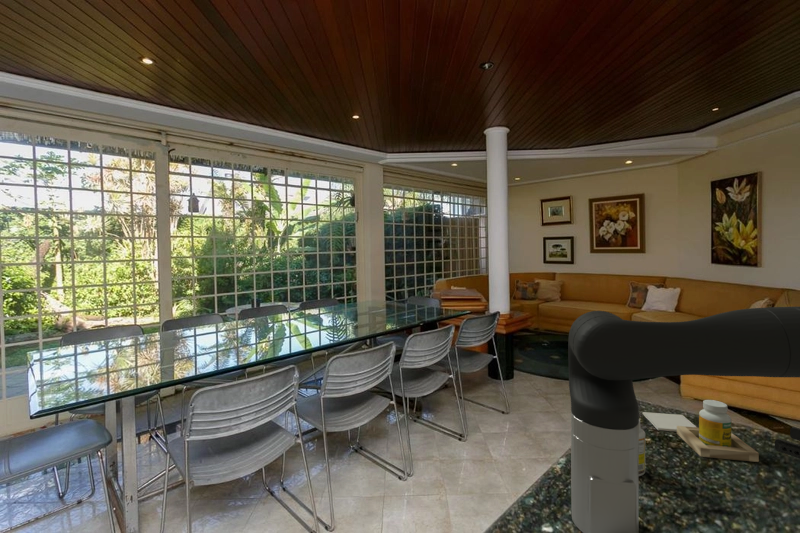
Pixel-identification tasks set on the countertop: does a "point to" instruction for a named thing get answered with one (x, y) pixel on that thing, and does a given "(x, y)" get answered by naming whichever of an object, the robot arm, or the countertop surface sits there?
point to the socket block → (734, 452)
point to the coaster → (667, 421)
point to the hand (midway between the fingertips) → (783, 437)
